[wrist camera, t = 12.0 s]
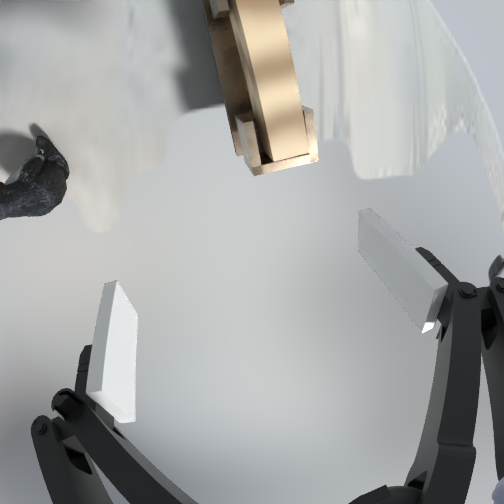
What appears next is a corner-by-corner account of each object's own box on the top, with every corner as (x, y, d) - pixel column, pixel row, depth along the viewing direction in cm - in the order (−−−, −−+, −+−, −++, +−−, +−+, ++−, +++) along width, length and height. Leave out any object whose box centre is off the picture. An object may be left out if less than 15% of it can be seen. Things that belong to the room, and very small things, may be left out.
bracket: (197, -17, 27) (203, -42, 18) (259, -25, 27) (284, -49, 19) (236, 154, 41) (252, 180, 33) (290, 141, 42) (321, 164, 34)
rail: (222, -12, 23) (229, -23, 19) (258, -17, 24) (270, -29, 20) (261, 149, 35) (273, 161, 31) (293, 141, 35) (309, 152, 31)
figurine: (26, 125, 31) (-32, 159, 19) (85, 140, 35) (44, 180, 23) (16, 186, 35) (-33, 239, 23) (71, 202, 39) (35, 262, 27)
